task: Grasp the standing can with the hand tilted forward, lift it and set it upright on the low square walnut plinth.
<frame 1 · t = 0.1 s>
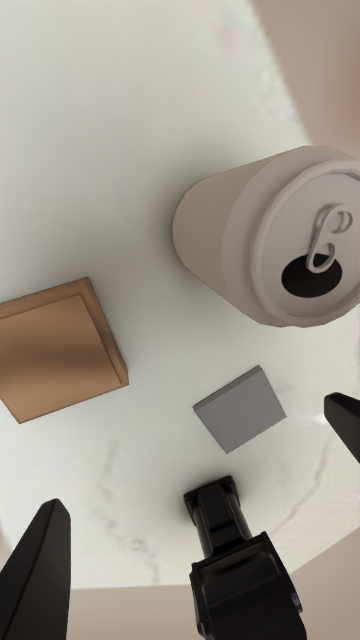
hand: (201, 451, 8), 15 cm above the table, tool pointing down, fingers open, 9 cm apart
plinth: (54, 346, 21), on the table
slate coaster: (240, 409, 29), on the table
can: (215, 229, 21), on the table
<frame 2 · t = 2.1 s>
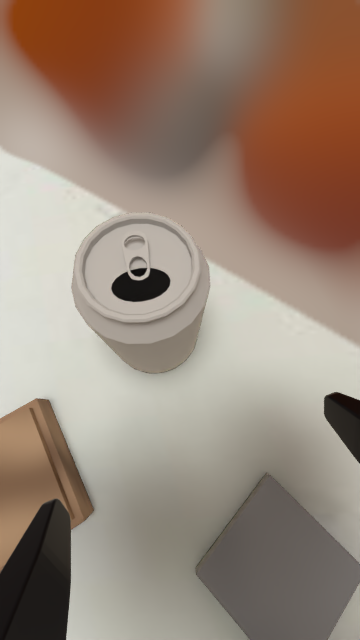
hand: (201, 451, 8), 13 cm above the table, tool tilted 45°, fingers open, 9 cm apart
plinth: (13, 485, 20), on the table
slate coaster: (277, 566, 18), on the table
can: (156, 333, 24), on the table
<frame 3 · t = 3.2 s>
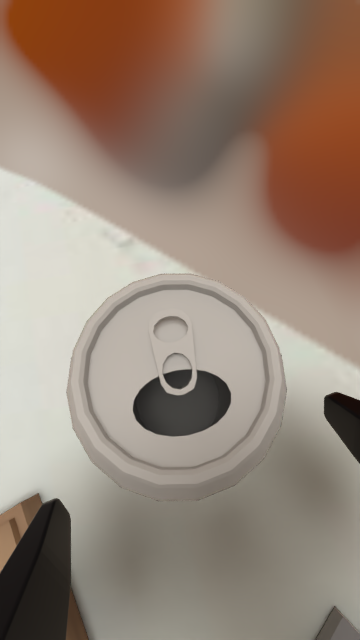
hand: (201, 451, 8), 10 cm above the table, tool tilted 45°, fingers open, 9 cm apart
can: (177, 397, 19), on the table
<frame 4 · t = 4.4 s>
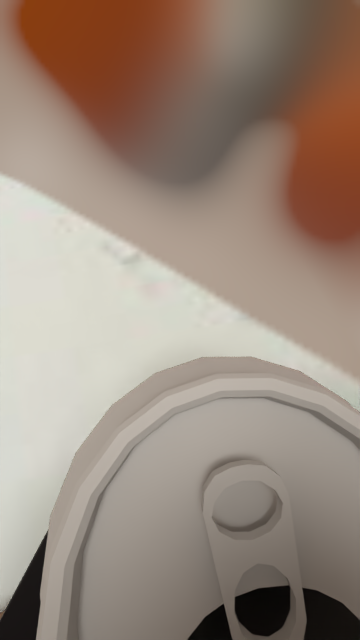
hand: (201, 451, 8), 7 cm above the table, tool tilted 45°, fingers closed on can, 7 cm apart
can: (199, 461, 15), on the table, touching gripper
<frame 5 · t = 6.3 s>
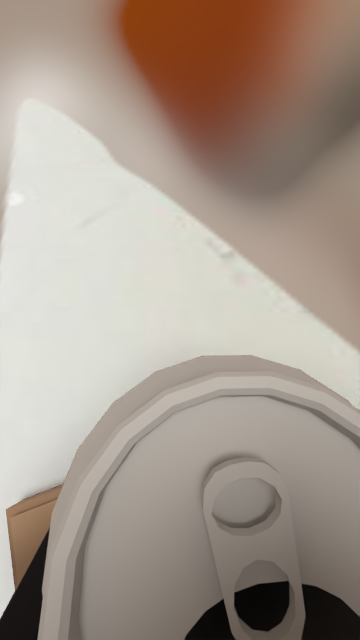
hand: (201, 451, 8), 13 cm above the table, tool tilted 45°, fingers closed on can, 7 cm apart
plinth: (98, 545, 18), on the table
can: (200, 460, 15), point 6 cm above the table, touching gripper
when the fingers open (10 cm above the table, at t = 8.1 s): can stays where it is, resting on plinth.
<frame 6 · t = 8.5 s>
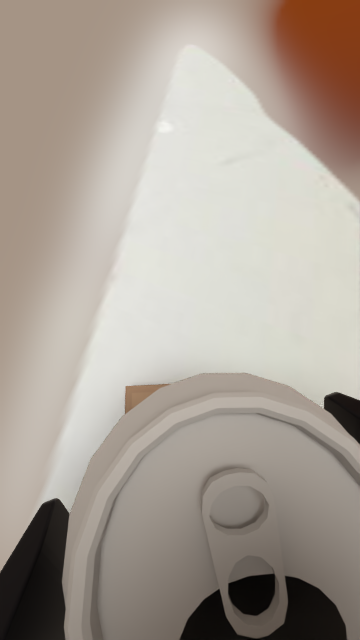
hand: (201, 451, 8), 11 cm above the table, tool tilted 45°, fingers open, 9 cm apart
plinth: (195, 454, 18), on the table
can: (199, 463, 16), point 2 cm above the table, touching plinth
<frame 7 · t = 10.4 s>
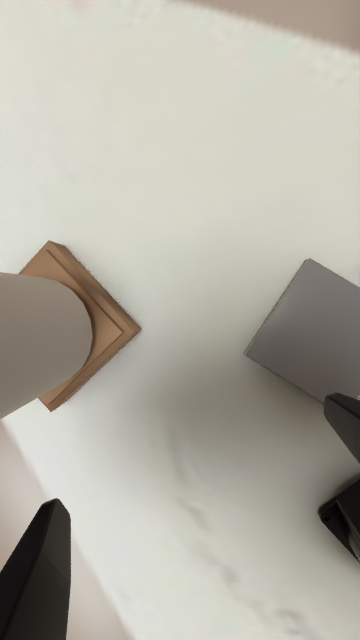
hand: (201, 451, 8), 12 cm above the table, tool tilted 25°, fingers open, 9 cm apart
plinth: (64, 325, 21), on the table
slate coaster: (321, 336, 19), on the table
can: (49, 330, 19), point 2 cm above the table, touching plinth
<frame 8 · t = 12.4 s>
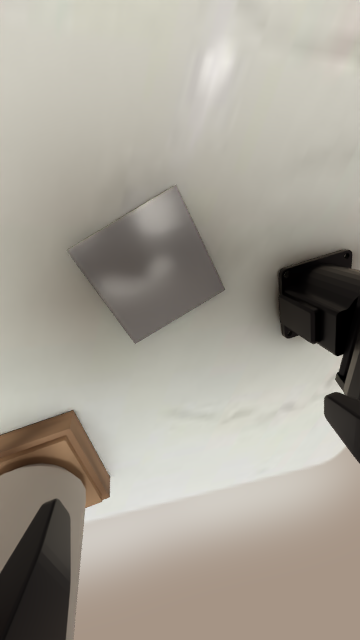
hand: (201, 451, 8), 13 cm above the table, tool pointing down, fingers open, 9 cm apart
plinth: (43, 464, 23), on the table
slate coaster: (152, 269, 19), on the table
can: (38, 488, 21), point 2 cm above the table, touching plinth
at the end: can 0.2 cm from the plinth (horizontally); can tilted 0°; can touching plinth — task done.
